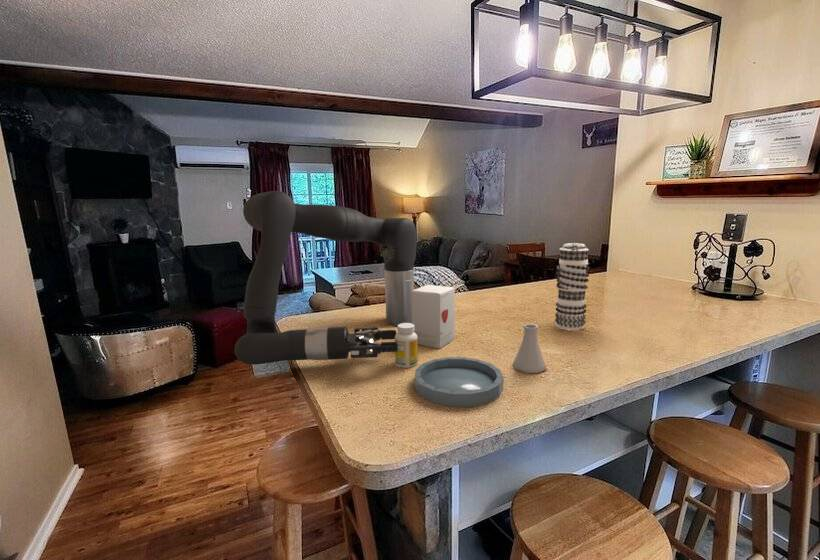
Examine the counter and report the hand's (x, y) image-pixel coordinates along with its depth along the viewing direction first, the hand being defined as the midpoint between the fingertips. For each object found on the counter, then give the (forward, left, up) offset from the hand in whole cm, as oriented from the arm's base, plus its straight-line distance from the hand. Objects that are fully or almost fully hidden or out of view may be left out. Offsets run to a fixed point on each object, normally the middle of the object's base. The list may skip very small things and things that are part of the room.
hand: (396, 340), depth 94 cm
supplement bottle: (-1, +2, -6) cm, 7 cm away
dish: (+5, +17, -6) cm, 19 cm away
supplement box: (-18, +2, -6) cm, 19 cm away
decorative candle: (-46, +35, -6) cm, 58 cm away
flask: (-10, +29, -6) cm, 31 cm away
